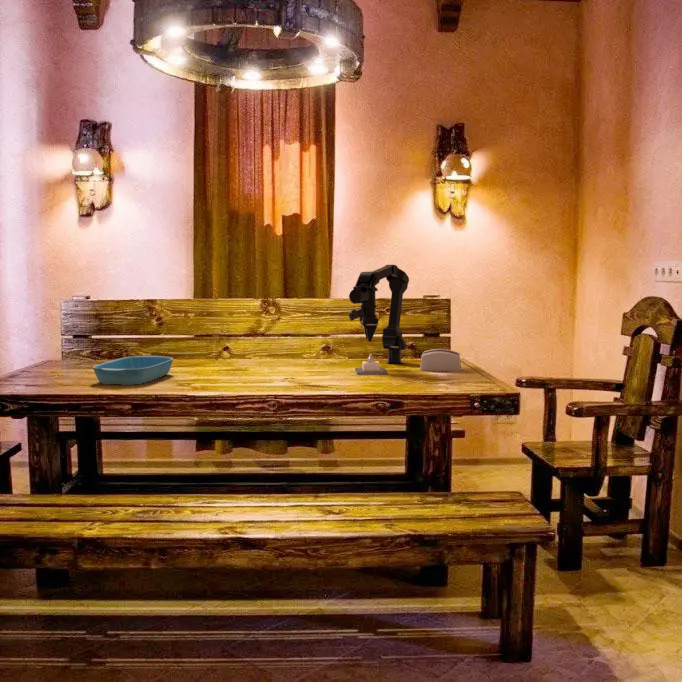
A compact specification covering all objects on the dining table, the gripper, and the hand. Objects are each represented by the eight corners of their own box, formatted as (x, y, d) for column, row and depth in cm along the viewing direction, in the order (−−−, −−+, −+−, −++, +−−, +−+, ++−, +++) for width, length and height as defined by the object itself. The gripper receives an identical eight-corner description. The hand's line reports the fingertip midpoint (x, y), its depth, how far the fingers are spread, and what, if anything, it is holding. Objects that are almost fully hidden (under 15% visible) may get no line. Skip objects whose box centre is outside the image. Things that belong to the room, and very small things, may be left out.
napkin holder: (461, 369, 299) (461, 347, 294) (461, 374, 295) (461, 352, 290) (420, 368, 302) (420, 346, 298) (419, 373, 298) (419, 352, 294)
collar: (362, 368, 296) (362, 361, 295) (378, 368, 296) (377, 361, 296) (363, 370, 289) (363, 363, 289) (379, 370, 290) (379, 363, 289)
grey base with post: (354, 370, 298) (354, 352, 298) (383, 369, 299) (383, 351, 298) (357, 374, 286) (357, 355, 286) (387, 374, 287) (387, 355, 286)
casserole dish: (140, 388, 260) (139, 368, 259) (83, 387, 264) (82, 367, 263) (181, 373, 296) (181, 355, 295) (130, 372, 300) (130, 354, 299)
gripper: (347, 301, 308) (347, 338, 309) (350, 303, 289) (350, 342, 291) (373, 301, 308) (373, 337, 310) (378, 303, 290) (378, 342, 291)
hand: (368, 340), depth 300 cm, fingers open, 9 cm apart
